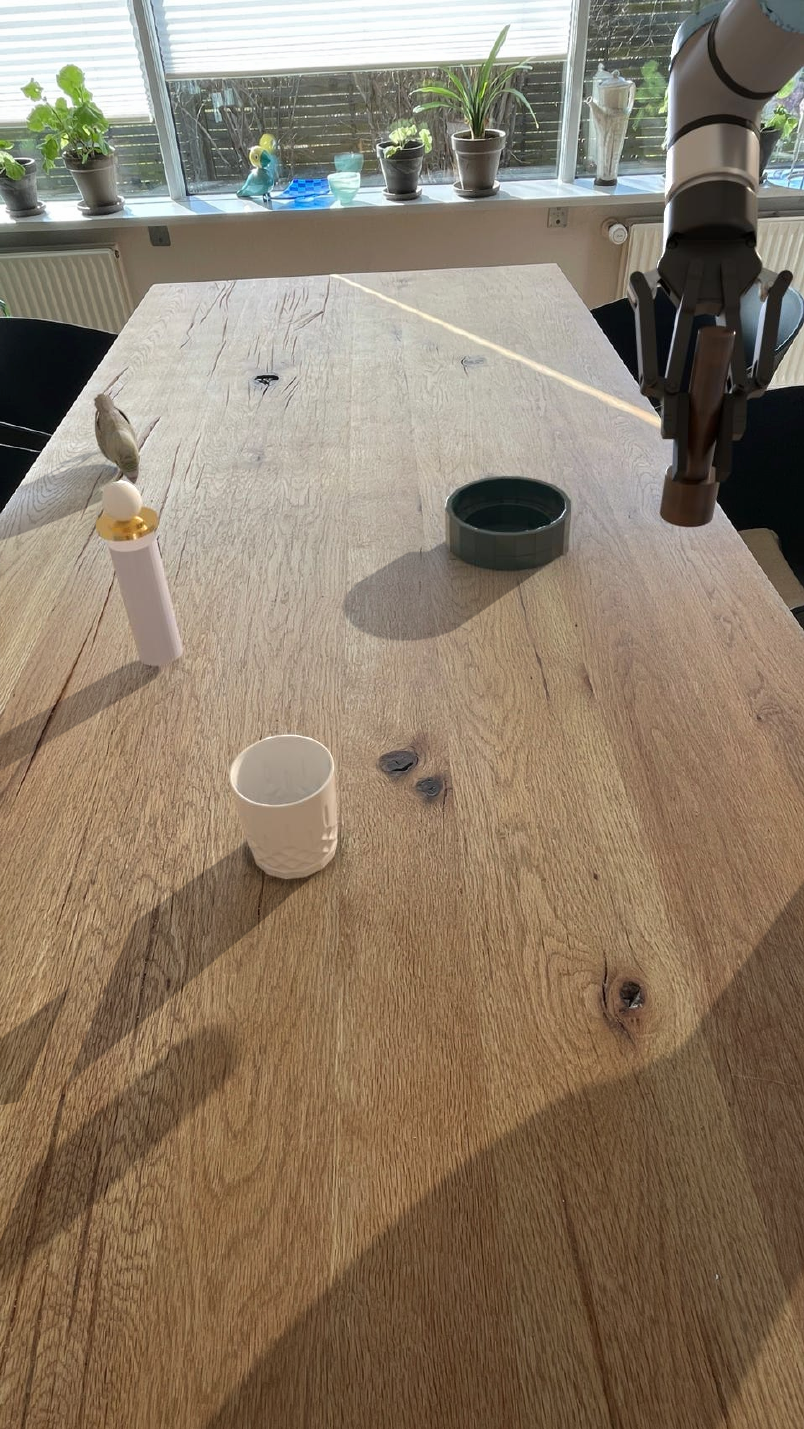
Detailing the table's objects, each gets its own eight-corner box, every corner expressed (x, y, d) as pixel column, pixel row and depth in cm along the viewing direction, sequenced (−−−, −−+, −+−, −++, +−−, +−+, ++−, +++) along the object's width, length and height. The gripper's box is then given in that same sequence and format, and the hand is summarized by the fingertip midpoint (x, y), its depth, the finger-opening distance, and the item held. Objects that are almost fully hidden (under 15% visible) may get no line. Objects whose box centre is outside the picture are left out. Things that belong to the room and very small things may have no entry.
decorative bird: (115, 489, 130) (101, 437, 126) (94, 446, 142) (81, 397, 137) (154, 480, 132) (142, 429, 127) (130, 438, 144) (118, 390, 139)
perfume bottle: (190, 670, 98) (148, 493, 85) (133, 678, 97) (82, 501, 84) (190, 639, 102) (149, 465, 89) (135, 646, 101) (87, 473, 89)
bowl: (567, 521, 118) (570, 476, 114) (568, 583, 107) (571, 536, 103) (451, 519, 120) (451, 475, 116) (441, 580, 109) (440, 533, 105)
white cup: (305, 911, 73) (290, 822, 67) (228, 871, 77) (206, 782, 70) (364, 845, 78) (354, 756, 72) (289, 810, 82) (273, 722, 75)
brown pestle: (709, 503, 86) (743, 321, 76) (715, 528, 82) (751, 341, 72) (657, 501, 86) (683, 321, 76) (661, 527, 83) (689, 341, 73)
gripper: (796, 228, 82) (788, 492, 81) (609, 231, 84) (598, 489, 83) (823, 172, 75) (816, 462, 73) (618, 177, 77) (606, 459, 75)
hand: (701, 476), depth 78 cm, fingers closed on brown pestle, 3 cm apart
